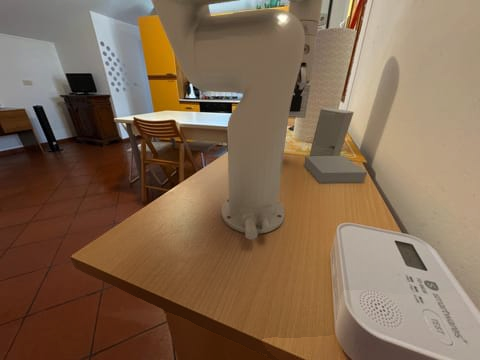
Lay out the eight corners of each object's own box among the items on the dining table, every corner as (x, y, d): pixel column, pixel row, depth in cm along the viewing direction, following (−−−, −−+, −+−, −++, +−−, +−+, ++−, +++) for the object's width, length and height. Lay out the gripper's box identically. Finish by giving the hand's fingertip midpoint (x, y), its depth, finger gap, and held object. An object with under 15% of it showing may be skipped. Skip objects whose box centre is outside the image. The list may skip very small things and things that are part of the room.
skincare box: (309, 155, 69) (317, 108, 62) (319, 151, 73) (329, 106, 66) (331, 162, 63) (344, 111, 56) (341, 157, 68) (354, 109, 60)
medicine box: (302, 116, 59) (307, 84, 55) (305, 118, 55) (311, 84, 51) (276, 115, 60) (279, 84, 56) (277, 117, 56) (281, 83, 52)
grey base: (363, 182, 51) (367, 172, 50) (319, 183, 51) (321, 172, 49) (340, 164, 62) (343, 155, 60) (303, 164, 61) (305, 156, 60)
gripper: (332, 25, 41) (315, 114, 49) (304, 41, 56) (294, 107, 64) (297, 23, 41) (286, 114, 49) (278, 40, 56) (272, 107, 64)
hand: (291, 109), depth 56 cm, fingers closed on medicine box, 4 cm apart
